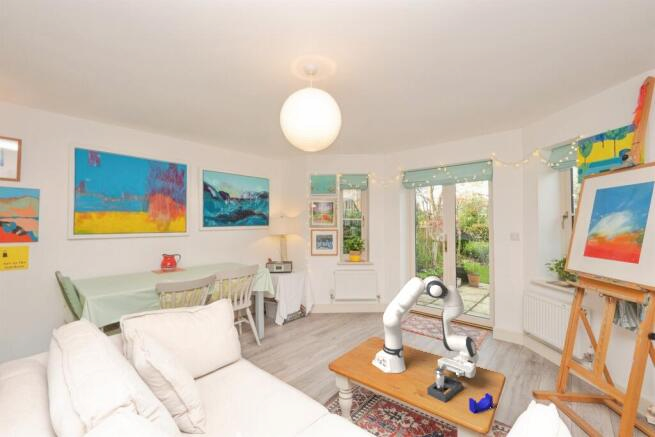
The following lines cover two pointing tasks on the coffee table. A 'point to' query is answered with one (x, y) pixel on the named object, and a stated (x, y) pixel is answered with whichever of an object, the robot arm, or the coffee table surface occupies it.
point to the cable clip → (481, 404)
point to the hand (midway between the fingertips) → (449, 371)
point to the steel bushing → (440, 379)
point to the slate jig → (449, 389)
